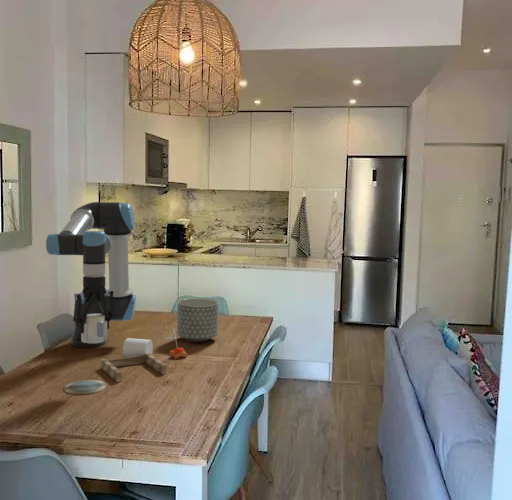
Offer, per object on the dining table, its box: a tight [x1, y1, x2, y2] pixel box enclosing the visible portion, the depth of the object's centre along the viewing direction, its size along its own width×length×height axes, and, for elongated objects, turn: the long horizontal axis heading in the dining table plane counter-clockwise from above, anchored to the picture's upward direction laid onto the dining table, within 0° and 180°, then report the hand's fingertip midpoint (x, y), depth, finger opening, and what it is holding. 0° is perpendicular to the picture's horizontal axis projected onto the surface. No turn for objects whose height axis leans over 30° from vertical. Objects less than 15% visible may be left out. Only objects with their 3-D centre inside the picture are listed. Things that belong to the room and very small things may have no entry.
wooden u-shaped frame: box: [101, 353, 167, 383], centre depth 207 cm, size 18×19×4 cm
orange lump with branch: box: [164, 328, 188, 360], centre depth 226 cm, size 6×10×12 cm, turn 88°
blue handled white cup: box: [85, 314, 105, 343], centre depth 188 cm, size 7×9×9 cm
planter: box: [176, 298, 219, 343], centre depth 254 cm, size 19×19×18 cm
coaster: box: [63, 379, 107, 396], centre depth 188 cm, size 14×14×1 cm
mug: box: [122, 337, 154, 357], centre depth 226 cm, size 12×10×8 cm
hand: (94, 340), depth 189 cm, fingers closed on blue handled white cup, 7 cm apart
